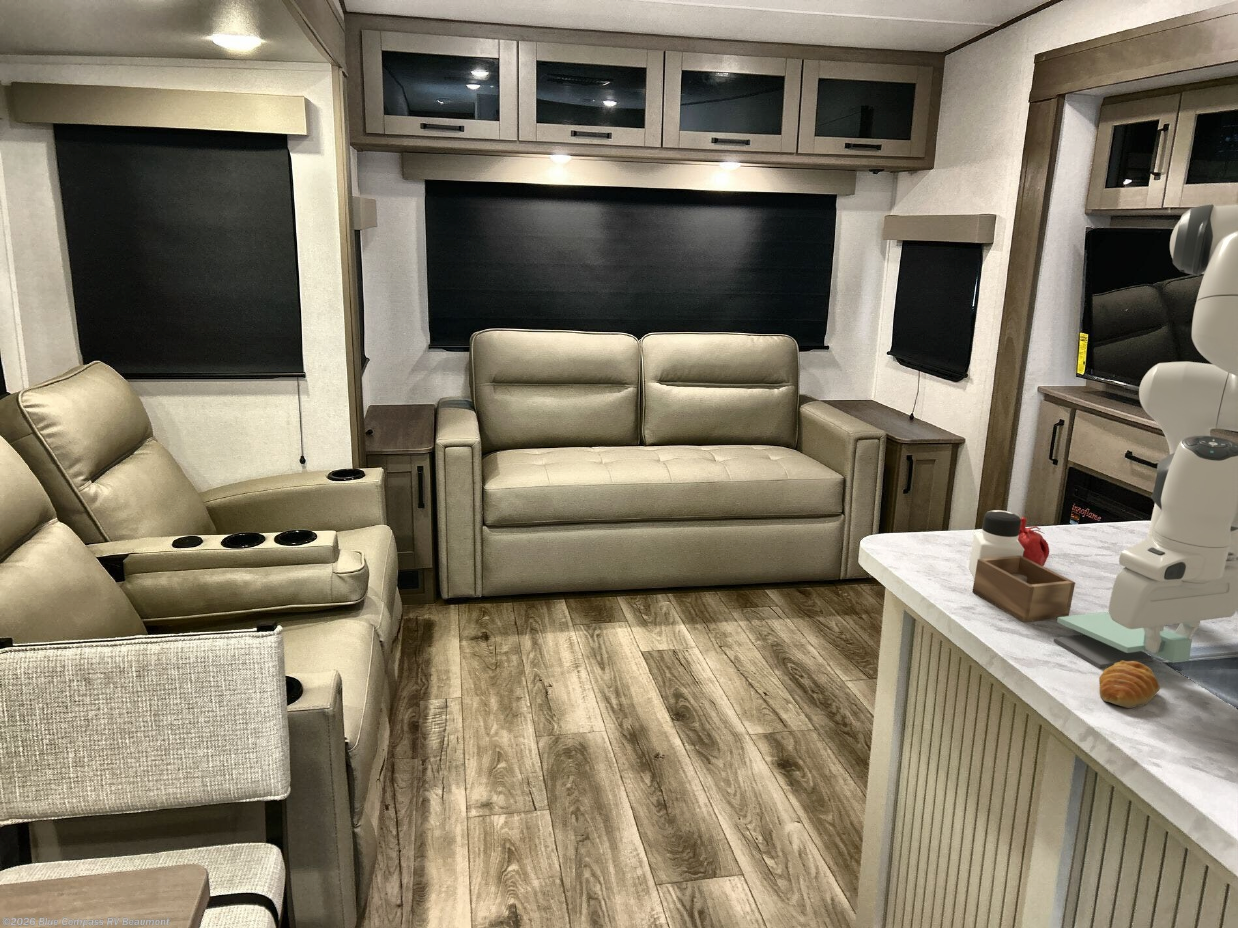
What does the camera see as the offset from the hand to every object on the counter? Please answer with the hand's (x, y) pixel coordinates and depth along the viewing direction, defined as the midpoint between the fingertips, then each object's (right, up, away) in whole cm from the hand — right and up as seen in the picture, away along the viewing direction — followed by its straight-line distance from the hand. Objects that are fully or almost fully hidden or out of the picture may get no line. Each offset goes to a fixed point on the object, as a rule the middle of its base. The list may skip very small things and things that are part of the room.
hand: (1165, 648), depth 124 cm
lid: (-2, 0, +6) cm, 6 cm away
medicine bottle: (-10, +5, +35) cm, 36 cm away
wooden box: (-10, +3, +23) cm, 25 cm away
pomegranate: (-2, +7, +41) cm, 42 cm away
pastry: (-8, -6, -4) cm, 11 cm away
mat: (-5, -2, +8) cm, 9 cm away
